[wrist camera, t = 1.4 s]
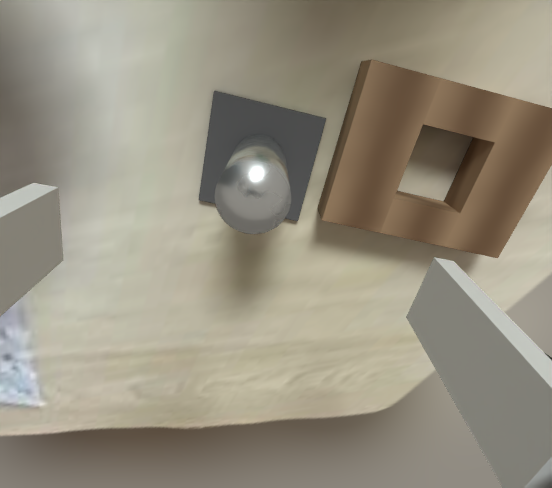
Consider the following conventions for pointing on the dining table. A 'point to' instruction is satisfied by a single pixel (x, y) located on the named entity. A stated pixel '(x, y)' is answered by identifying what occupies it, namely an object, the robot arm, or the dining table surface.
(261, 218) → the brushed steel cylinder
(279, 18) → the dining table surface
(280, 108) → the pad
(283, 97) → the dining table surface
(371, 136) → the jig
